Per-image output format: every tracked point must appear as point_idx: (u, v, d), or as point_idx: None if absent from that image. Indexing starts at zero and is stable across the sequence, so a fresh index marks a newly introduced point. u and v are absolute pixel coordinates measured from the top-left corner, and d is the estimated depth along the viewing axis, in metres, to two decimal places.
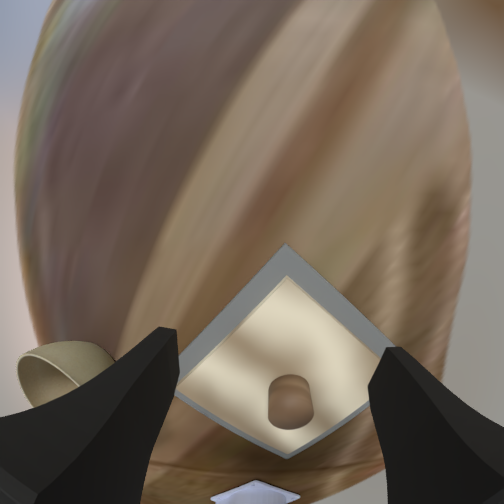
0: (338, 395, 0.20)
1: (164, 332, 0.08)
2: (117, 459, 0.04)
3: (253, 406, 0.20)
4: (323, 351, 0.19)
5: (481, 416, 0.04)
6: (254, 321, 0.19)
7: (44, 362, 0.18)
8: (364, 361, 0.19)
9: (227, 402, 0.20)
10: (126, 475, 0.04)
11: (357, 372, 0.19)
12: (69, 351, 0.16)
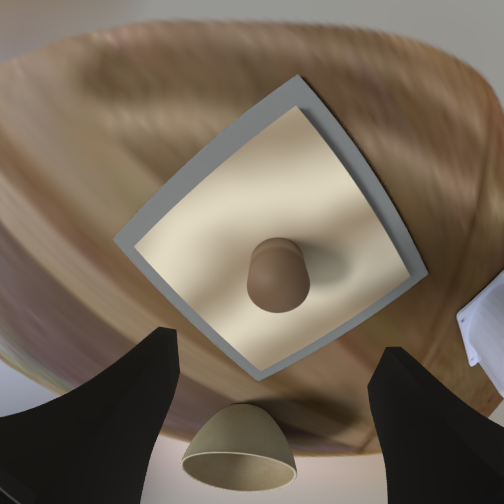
0: (306, 198, 0.15)
1: (164, 332, 0.08)
2: (117, 459, 0.04)
3: (298, 306, 0.18)
4: (220, 216, 0.16)
5: (481, 416, 0.04)
6: (176, 283, 0.18)
7: (222, 459, 0.22)
8: (251, 160, 0.15)
9: (286, 330, 0.19)
10: (126, 475, 0.04)
11: (268, 170, 0.15)
12: None
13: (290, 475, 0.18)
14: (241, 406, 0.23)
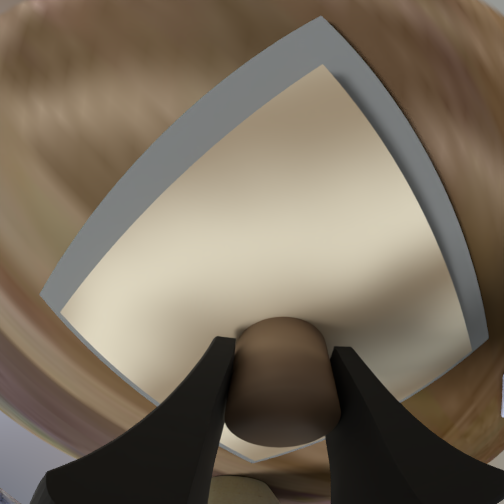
0: (340, 248, 0.08)
1: (225, 341, 0.08)
2: (203, 481, 0.04)
3: None
4: (178, 280, 0.08)
5: (428, 432, 0.04)
6: (125, 368, 0.10)
7: None
8: (231, 173, 0.07)
9: None
10: (204, 495, 0.04)
11: (267, 193, 0.07)
12: None
13: None
14: (231, 481, 0.15)
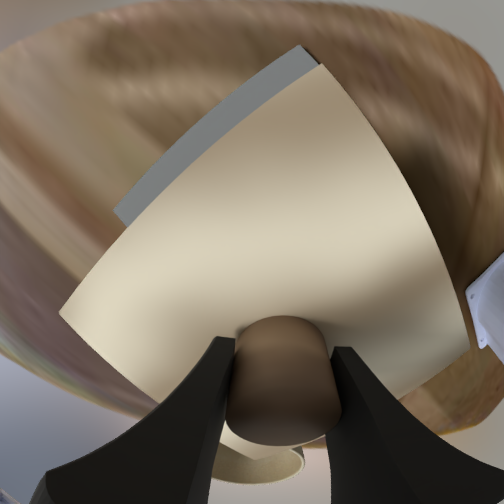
0: (339, 247, 0.08)
1: (225, 342, 0.08)
2: (202, 481, 0.04)
3: None
4: (178, 279, 0.08)
5: (428, 432, 0.04)
6: (124, 368, 0.10)
7: (224, 449, 0.22)
8: (230, 172, 0.07)
9: None
10: (203, 495, 0.04)
11: (267, 192, 0.07)
12: None
13: (297, 465, 0.18)
14: None
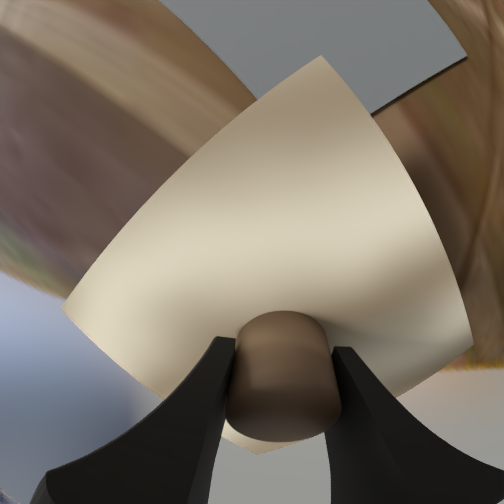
0: (340, 242, 0.08)
1: (225, 341, 0.08)
2: (203, 481, 0.04)
3: None
4: (178, 275, 0.08)
5: (428, 432, 0.04)
6: (126, 363, 0.10)
7: None
8: (229, 166, 0.07)
9: None
10: (204, 495, 0.04)
11: (266, 186, 0.07)
12: None
13: None
14: None
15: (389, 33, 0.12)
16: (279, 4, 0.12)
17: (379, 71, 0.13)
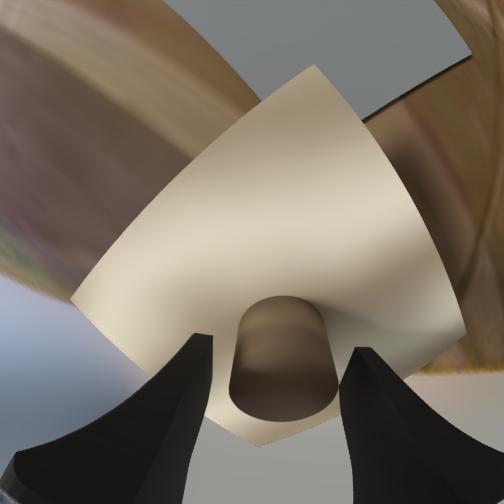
0: (333, 230, 0.09)
1: (202, 338, 0.08)
2: (169, 475, 0.04)
3: None
4: (185, 262, 0.09)
5: (450, 426, 0.04)
6: (132, 352, 0.11)
7: None
8: (233, 162, 0.08)
9: None
10: (174, 489, 0.04)
11: (266, 180, 0.08)
12: None
13: None
14: None
15: (393, 29, 0.11)
16: None
17: (383, 68, 0.12)
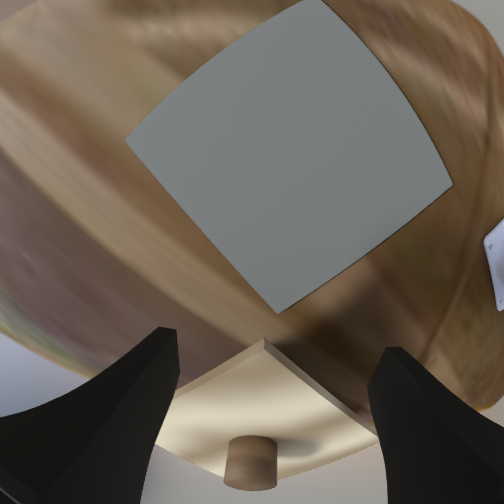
0: (277, 415, 0.13)
1: (164, 332, 0.08)
2: (117, 459, 0.04)
3: None
4: (196, 422, 0.14)
5: (481, 416, 0.04)
6: (166, 447, 0.16)
7: None
8: (217, 392, 0.13)
9: None
10: (126, 475, 0.04)
11: (237, 399, 0.13)
12: None
13: None
14: None
15: (368, 184, 0.16)
16: (255, 164, 0.16)
17: (351, 232, 0.17)
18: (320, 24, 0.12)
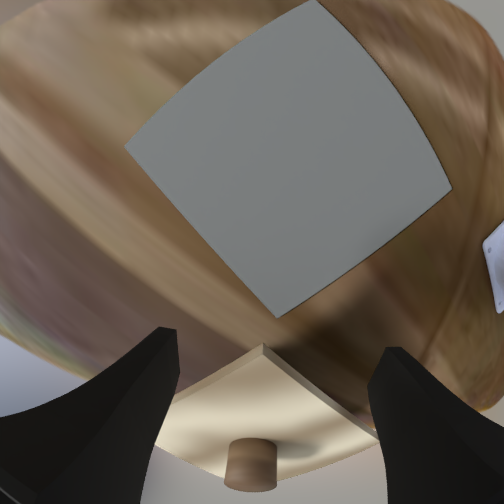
0: (276, 418, 0.14)
1: (163, 332, 0.08)
2: (117, 459, 0.04)
3: None
4: (197, 425, 0.14)
5: (481, 416, 0.04)
6: (168, 449, 0.16)
7: None
8: (217, 396, 0.13)
9: None
10: (126, 475, 0.04)
11: (236, 402, 0.13)
12: None
13: None
14: None
15: (367, 189, 0.16)
16: (254, 170, 0.16)
17: (350, 237, 0.17)
18: (319, 28, 0.12)
